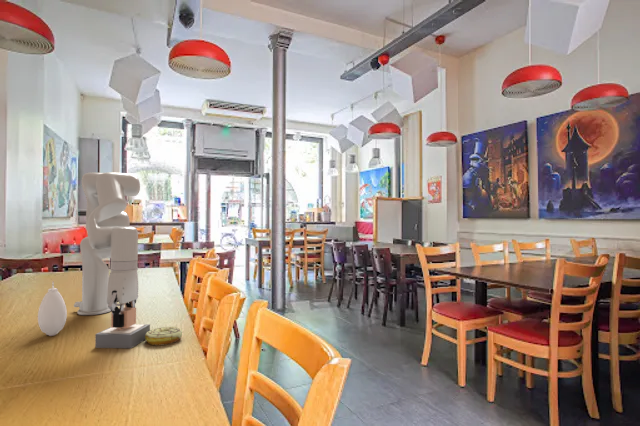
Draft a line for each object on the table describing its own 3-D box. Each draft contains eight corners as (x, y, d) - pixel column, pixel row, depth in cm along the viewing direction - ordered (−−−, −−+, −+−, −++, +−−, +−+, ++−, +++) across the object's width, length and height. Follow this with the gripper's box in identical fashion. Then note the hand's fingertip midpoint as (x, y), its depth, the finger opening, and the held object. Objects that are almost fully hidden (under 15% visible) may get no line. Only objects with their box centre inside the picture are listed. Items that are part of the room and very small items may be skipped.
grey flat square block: (95, 347, 112) (95, 333, 112) (117, 336, 123) (117, 323, 123) (131, 348, 111) (131, 333, 111) (149, 336, 122) (149, 323, 122)
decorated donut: (188, 340, 119) (188, 328, 119) (154, 349, 111) (154, 336, 111) (172, 334, 126) (173, 322, 126) (140, 341, 118) (140, 329, 118)
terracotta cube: (111, 327, 115) (111, 311, 115) (120, 323, 120) (120, 307, 120) (127, 327, 114) (127, 311, 114) (135, 323, 119) (136, 307, 119)
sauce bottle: (63, 330, 130) (64, 278, 130) (68, 334, 124) (69, 280, 124) (35, 334, 124) (36, 280, 125) (39, 340, 119) (40, 283, 119)
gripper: (128, 263, 126) (127, 317, 126) (95, 269, 109) (94, 332, 109) (149, 263, 126) (149, 317, 125) (120, 270, 109) (119, 333, 108)
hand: (123, 323), depth 117 cm, fingers closed on terracotta cube, 4 cm apart
